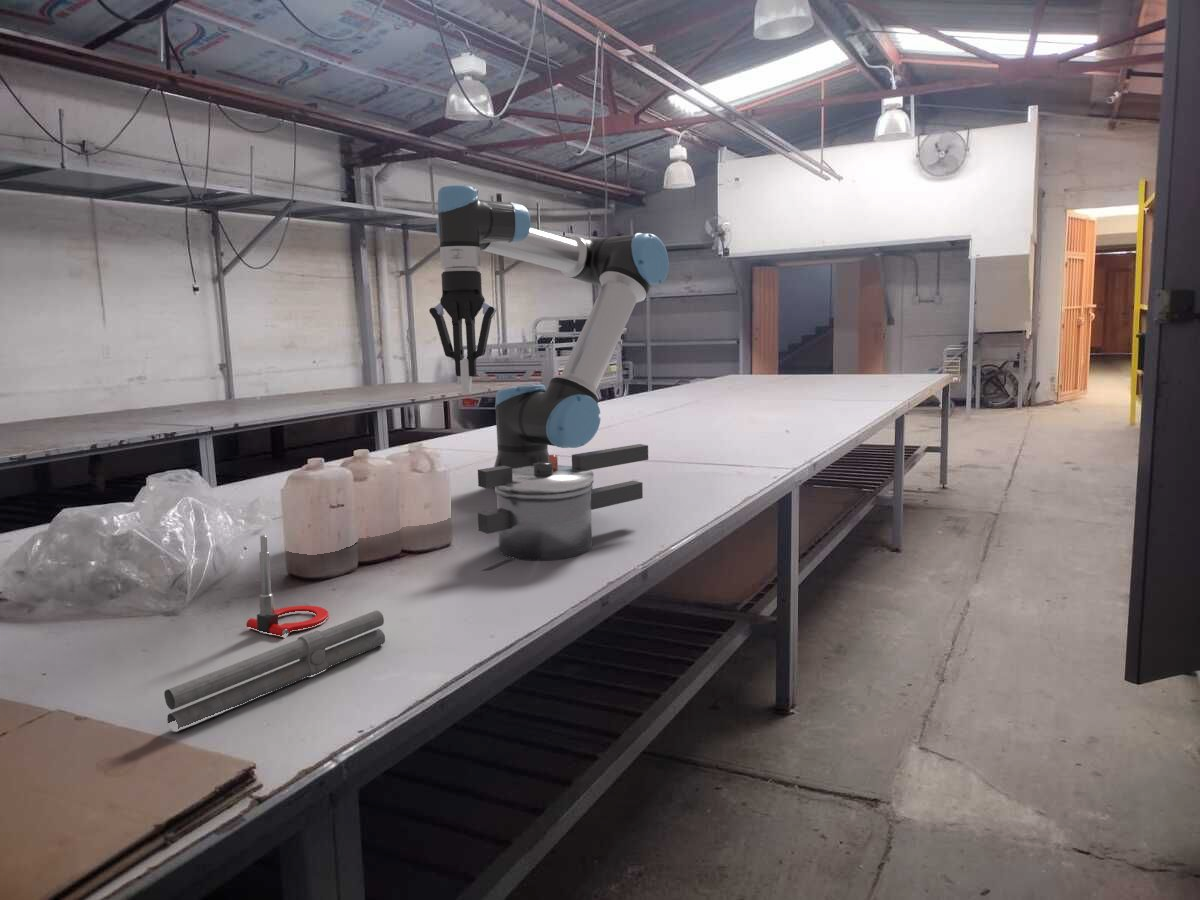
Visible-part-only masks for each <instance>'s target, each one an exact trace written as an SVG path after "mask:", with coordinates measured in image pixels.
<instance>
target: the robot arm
mask: <svg viewBox="0 0 1200 900" xmlns="http://www.w3.org/2000/svg"><path fill="white" fill-rule="evenodd" d="M436 210H437V211H436V213H437V217H438V218H437V221H436V229H435V230H436V234H437V237H438V239H439V245H440V246H439V251H440V253H439V255H440V268H441V269H442V270H444V271H442V273H441V291H442V293H441V294H442V295H441V298H440V300H439V302H440V303H438V304H437V305H435V306H434V307H431V308H429V314H430V315H431V317H433V319H434V320H435V321H434V322H435V325H436V328H437V332H438V335H439V338H440V342H441V344H442V348H443V352H444V355H445V356H446V357H447V358H451V359H453V360H454V367H455V369H454V370H455V375H456V377H460V386H461V394H462V395H463V394H464V395H469V394H473V380H472V379H473V377H475V376H476V375H477V359H478V358H481V357H483V356H484V355H485V354H486V351H487V345H488V340H489V339H488V338H489V333H490V328H491V325H492V324H491V323H492V320H493V317H494V315H495V314H496V312H497V308H496V306H492V305H491V304H489V303H488V302H486V299H485V297H484V295H483V290H482V289H483V288H482V273H481V271H478V270H479V269H481V268H482V265H481V251H482V252H487V253H490V254H493V255H494V254H495V255H497V256H503V257H506V258H510V259H515V260H517V261H522V262H527V263H529V264H533V265H538V266H541V267H545V268H548V269H549V268H550V269H554V270H556V271H560V272H561V273H562V275H564V276H565V277H566V278H567V277H568V278H570V279H575V280H578V281H582V282H585V283H589V284H592V285H595V286H600V287H601V289H600V291H599V293H598V296H597V298H596V300H595V302H594V304H593V306H592V308H591V310H590V312H589V315H588V316H587V319H586V320H585V323H584V324H583V326H582V330H581V331H580V333H579V335H578V338H577V340H576V342H575V344H574V347H573V349H572V350H571V353H570V354H569V356H568V358H567V361H566V363H565V365H564V367H563V370H562V371H561V373H560V374H558V375H555V376H552V377H551V379H550V381H549V383H548V385H547V387H546V386H545V385H544V384H534V385H524V386H516V387H514V386H513V387H507V388H501V389H498V391H497V392H496V394H495V404H494V409H495V423H496V425H495V427H496V440H497V441H496V442H497V453H496V454H497V455H496V458H495V462H494V466H493V467H498V466H508V467H512V469H513V468H519V467H527V466H534V463H535V462H544V461H545V462H548V455H550V454H549V450H548V449H549V448H548V446H553V447H556V448H560V449H561V448H562V449H568V448H571V449H572V448H573V449H576V448H580V447H583V446H585V445H587V444H588V443H590V441H591V440H593V439H594V437H595V436H596V434H597V432H598V430H599V427H600V424H601V419H602V418H601V416H600V414H601V409H600V407H599V401H600V398H599V395H598V392H597V390H598V387H599V386H600V385H599V384H600V383H601V381H602V378H603V376H604V374H605V372H606V369H607V368H608V366H609V363H610V361H611V359H612V357H613V354H614V353H615V349H616V348H617V346H618V343H619V341H620V340H621V337H622V334H623V332H624V330H625V328H626V325H628V322H629V319H630V318H631V315H632V313H633V310H634V308H635V307H636V306H635V305H636V304H637V303H641V302H643V301H644V300H645V299H646V297H647V295H648V293H649V291H650V289H651V286H653V287H654V286H658V285H660V284H662V283H663V282H664V281H665V280H666V278H667V276H668V273H669V268H670V266H669V265H670V262H669V261H670V260H669V256H668V250H667V248H666V246H665V245H664V243H663V241H662V240H661V239H660V238H659V237H658V236H657V235H655V234H652V233H648V232H647V233H641V232H637V233H635V234H631V235H629V234H627V235H618V236H617V235H616V236H607V237H600V238H599V237H598V238H586V237H585V238H583V237H580V236H577V235H576V236H571V237H569V238H567V237H564V236H561V235H558V234H554V233H551V232H546V231H543V230H540V229H537V228H533V227H531V215H530V212H529V210H528V209H527V207H526V206H525V205H522V204H521V203H515V202H512V201H507V202H506V201H494V200H484V199H480V198H479V195H478V189H477V188H476V187H474V186H471V185H465V184H464V185H462V184H460V185H459V184H457V185H456V184H455V185H454V184H453V185H446V186H443V187H442V186H441V188H439V189H438V192H437V209H436ZM444 310H445V311H444ZM481 310H482V314H483V317H482V321H481V326H480V332H479V336H478V341H477V342H476V327H475V326H476V317H477V316H478V314H479V312H480V311H481ZM445 312H446V313H447V315H449V317H450V319H451V323H452V339H453V340H452V341H453V345H452V341H451V337H450V334H449V330H448V327H447V324H446V320H445V317H444V315H445ZM463 320H464V325H465V336H466V339H465V340H466V359H464V358H465V356H464V347H463V346H464V344H463ZM476 343H477V347H476ZM492 488H494V489H495V487H492Z"/></svg>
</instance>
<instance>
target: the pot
mask: <svg viewBox="0 0 1200 900" xmlns="http://www.w3.org/2000/svg"><path fill="white" fill-rule="evenodd" d="M593 484H594V483H592V484H591V485H590V486H587V487H585V488H581V489H577V490H572V491H566V492H558V493H541V494H530V493H515V492H508V491H503V490H500V489H497V488H494V493H495V494H496V505H497V508H494V509H490V510H485V511H481V512H477V522H478V523H477V524H478V525H477V527H478V531H479V532H480V533H484V534H487V535H489V534H493V533H498V550H500V551H499V552H500V553H501V552H502V553H503V554H502V553H501V554H502V555H503V556H506V555H507V556H506V557H508V556H510V557H509V558H511V557H514V558H513V559H515V558H517V559H516V560H523V561H534V562H535V561H537V562H539V561H540V562H541V561H557V560H565V559H569V558H574V557H578V556H580V555H583V554H586V553H587V552H588V551H590V550H591V549H592V547H593V529H592V528H593V527H592V524H593V521H592V510H597V509H602V508H606V507H610V506H615V505H618V504H624V503H627V502H628V503H629V502H633V501H636V500H641V499H643V492H644V489H643V482H641V481H636V480H630V481H629V480H628V481H625V482H620V483H615V484H611V485H605V486H601V487H596V488H593Z"/></svg>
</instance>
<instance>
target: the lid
mask: <svg viewBox="0 0 1200 900" xmlns="http://www.w3.org/2000/svg"><path fill="white" fill-rule="evenodd" d="M558 459H559V458H558V455H557V454H549V455H548V462H545V461H544V462H535V463H534V466H527V467H519V468H513V469H512V467H508V466H498V467H494V466H493V467H487V468H481V469H477V482H478V484H477V486H478V487H479V488H484V489H490V488H493V487H495V488H497V489H500V490H503V491H508V492H515V493H530V494H541V493H558V492H566V491H572V490H577V489H581V488H585V487H587V486H590V485H591V484H594V481H595V480H594V479H595V478H594V474H595V473H594V471H592V470H598V469H603V468H609V467H615V466H620V465H626V464H630V463H631V464H632V463H636V462H637V463H638V462H643V461H648V460H649V445H648V444H641V443H638V444H632V445H631V444H630V445H625V446H619V447H612V448H611V447H610V448H605V449H599V450H593V451H587V452H581V453H574V454H571V465H558V461H559V460H558ZM495 488H494V489H495Z"/></svg>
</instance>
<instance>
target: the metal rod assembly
mask: <svg viewBox="0 0 1200 900" xmlns="http://www.w3.org/2000/svg"><path fill="white" fill-rule="evenodd" d="M384 619H385V618H384V615H383V613H382V612H381V611H380V610H378V609H376V610H373V611H372V612H368V613H365V614H362V615H361V616H358V617H355V618H353V619H349V620H347V621H345V622H342V623H340V624H337V625H334V626H332V627H329V628H326V629H323V630H321V631H320V630H314V631H311V632H308V633H306V634H303V635H301V636H298V637H297V639H295V640H293V641H290V642H287V643H285V644H283V645H279V646H277V647H275V648H273V649H270V650H266V651H265V652H262V653H259V654H257V655H253V656H251V657H248V658H247V659H244V660H242V661H241V660H240V661H238V662H236V663H234V664H231V665H228V666H225V667H223V668H220V669H218V670H216V671H215V670H214V671H212V672H209V673H208V674H207V673H206V674H204V675H203V676H200V677H197V678H194V679H192V680H188V681H186V682H184V683H181V684H178V685H175V686H172V687H170V688H168V689H166V690H164V692H163V693H164V694H163V696H164V702H165V704H166V705H167V707H168V709H170V710H175V709H178V708H180V707H183V706H185V705H187V706H185V707H183V708H180V709H178V710H176V711H173V712H171V713H168V714H167V719H166V720H167V724H168V723H170V722H172V721H175V720H176V722H177V724H178V729H179V728H180V727H183V726H186V725H189V724H191V723H193V722H196V721H198V720H201V719H203V718H205V717H208V716H211V715H214V714H215V713H218V712H221V711H223V710H226V709H229V708H231V707H235V706H237V705H240V704H243V703H245V702H247V701H249V700H251V699H254V698H256V697H258V696H260V695H263V694H266V693H268V692H271V691H274V690H276V689H279V688H281V687H284V686H286V685H288V684H291V683H293V682H295V681H298V680H300V679H302V678H304V677H307V676H311V675H314V674H317V673H319V672H321V671H323V670H325V669H327V670H328V669H329V668H330V667H329V666H331V665H334V664H336V663H338V662H340V663H342V662H341V661H343V660H345V659H347V660H349V659H348V658H350V657H352V656H354V657H356V656H358V655H357V654H359V653H361V654H363V653H365V652H364V651H366V652H368V651H370V650H373V649H375V648H377V646H378V647H380V646H382V645H384V644H385V642H386V636H385V633H384V632H383V631H382V629H380V628H379V627H381V626H384V623H385V622H384V621H385V620H384ZM373 629H374V630H373ZM369 631H370V632H369ZM347 640H348V641H347ZM339 643H340V644H339ZM337 644H338V645H337ZM381 644H382V645H381ZM379 645H380V646H379ZM374 647H375V648H374ZM372 648H373V649H372ZM369 649H370V650H369ZM367 650H368V651H367ZM362 652H363V653H362ZM355 655H356V656H355ZM359 655H360V654H359ZM352 658H353V657H352ZM350 659H351V658H350ZM345 661H346V660H345ZM343 662H344V661H343ZM338 664H339V663H338ZM285 665H286V666H285ZM336 665H337V664H336ZM334 666H335V665H334ZM328 667H329V668H328ZM331 667H332V666H331ZM275 669H276V670H275ZM270 671H271V672H270ZM267 672H268V673H267ZM265 673H266V674H265ZM260 675H261V676H260ZM257 676H259V677H257ZM255 677H257V678H255ZM250 679H251V680H250ZM248 680H249V681H248ZM302 680H303V679H302ZM245 681H247V682H245ZM300 681H301V680H300ZM242 682H244V683H242ZM298 682H299V681H298ZM240 683H241V684H240ZM295 683H296V682H295ZM238 684H239V685H238ZM293 684H294V683H293ZM235 685H236V686H235ZM291 685H292V684H291ZM232 686H233V687H232ZM288 686H289V685H288ZM230 687H231V688H230ZM286 687H287V686H286ZM228 688H229V689H228ZM284 688H285V687H284ZM225 689H227V690H225ZM281 689H282V688H281ZM222 690H223V691H222ZM279 690H280V689H279ZM220 691H221V692H220ZM276 691H277V690H276ZM218 692H219V693H218ZM274 692H275V691H274ZM215 693H217V694H215ZM213 694H214V695H213ZM207 696H210V697H207ZM205 697H207V698H205ZM202 698H205V699H202ZM200 699H202V700H200ZM197 700H200V701H198V702H195V701H197ZM193 702H195V703H193ZM190 703H192V704H191V705H188V704H190Z"/></svg>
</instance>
